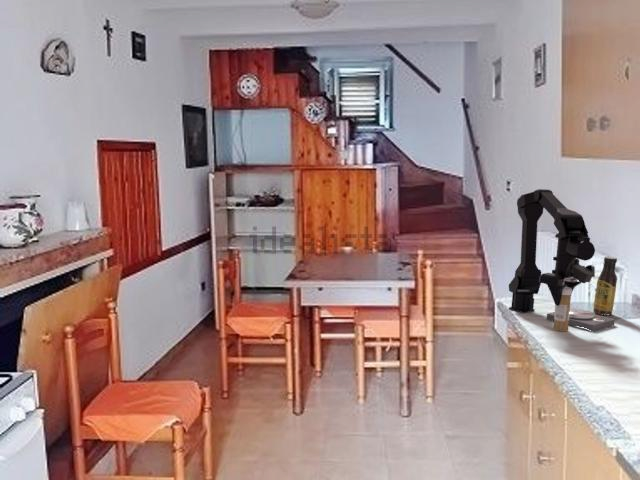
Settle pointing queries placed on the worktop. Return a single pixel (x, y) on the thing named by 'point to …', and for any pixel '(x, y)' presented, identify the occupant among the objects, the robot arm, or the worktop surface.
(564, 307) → the sprinkles bottle
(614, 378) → the worktop surface
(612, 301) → the sauce bottle
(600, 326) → the scale
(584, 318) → the scale pan
